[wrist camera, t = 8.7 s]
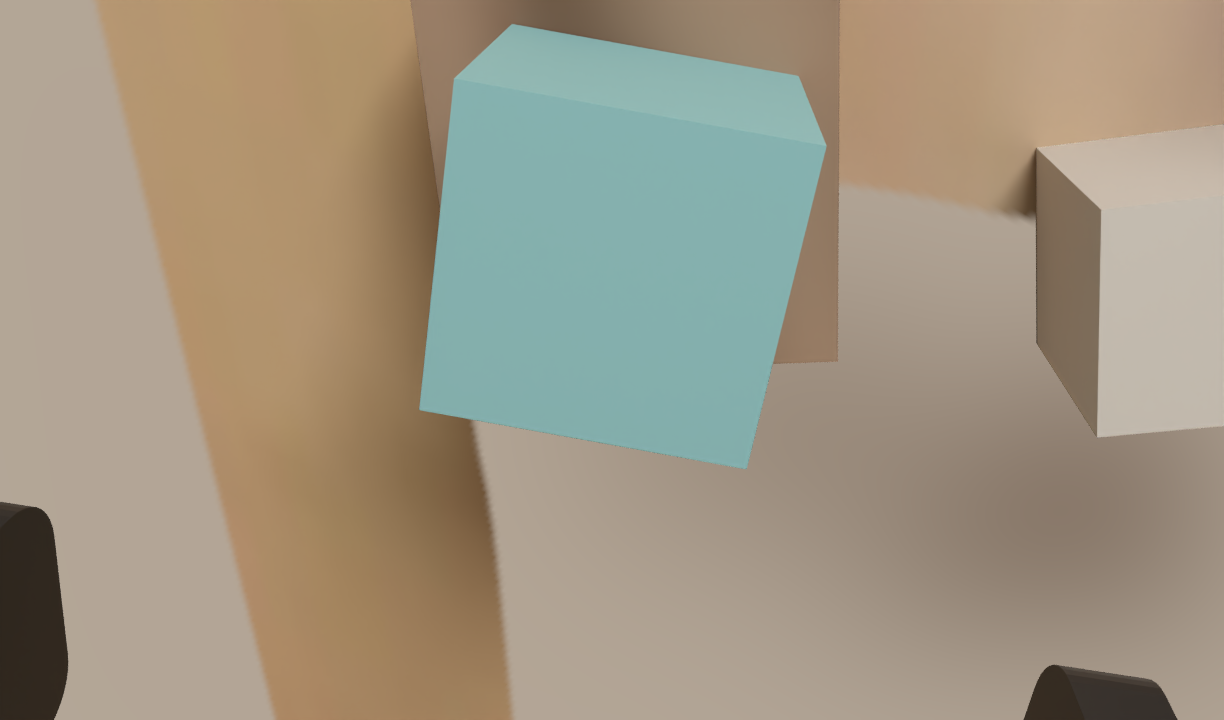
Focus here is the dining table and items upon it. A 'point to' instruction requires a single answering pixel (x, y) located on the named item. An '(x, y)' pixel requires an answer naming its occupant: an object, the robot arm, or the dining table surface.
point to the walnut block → (693, 26)
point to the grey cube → (1134, 278)
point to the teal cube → (617, 243)
